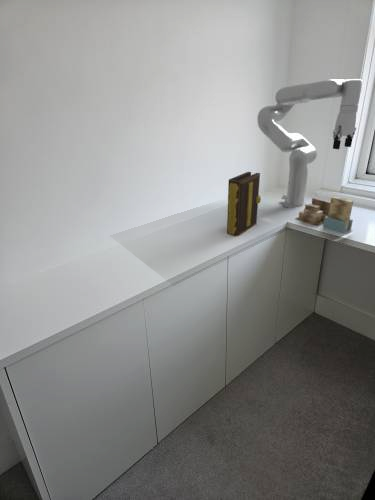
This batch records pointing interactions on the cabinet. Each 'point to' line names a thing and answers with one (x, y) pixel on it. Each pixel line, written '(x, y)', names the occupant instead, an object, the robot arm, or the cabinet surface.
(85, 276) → the cabinet surface
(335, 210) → the light brown flat block
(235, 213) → the book
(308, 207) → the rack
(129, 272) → the cabinet surface
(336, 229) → the stand
